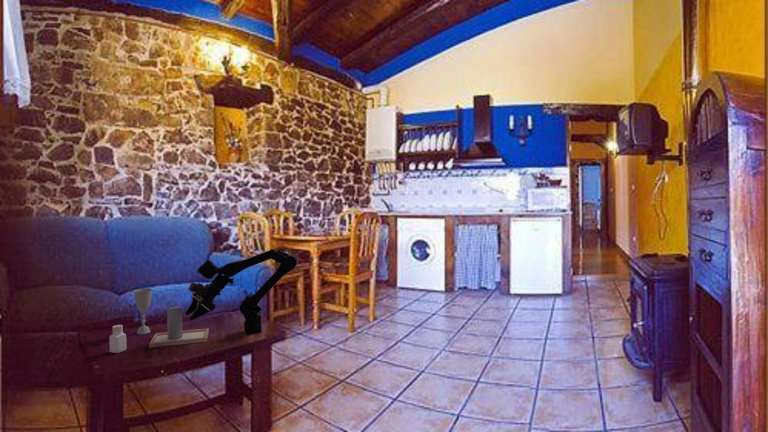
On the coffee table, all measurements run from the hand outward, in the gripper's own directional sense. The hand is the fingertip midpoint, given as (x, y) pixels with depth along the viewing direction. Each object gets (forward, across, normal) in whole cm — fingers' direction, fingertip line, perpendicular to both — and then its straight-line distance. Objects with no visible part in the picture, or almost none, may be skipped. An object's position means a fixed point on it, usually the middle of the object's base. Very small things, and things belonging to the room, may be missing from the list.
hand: (188, 317), depth 166 cm
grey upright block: (+9, 0, +2) cm, 9 cm away
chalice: (+16, -18, -4) cm, 25 cm away
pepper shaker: (+23, +2, -11) cm, 26 cm away
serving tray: (+8, 0, +4) cm, 9 cm away
